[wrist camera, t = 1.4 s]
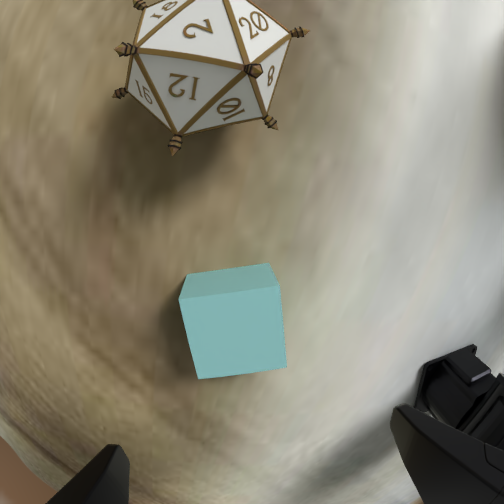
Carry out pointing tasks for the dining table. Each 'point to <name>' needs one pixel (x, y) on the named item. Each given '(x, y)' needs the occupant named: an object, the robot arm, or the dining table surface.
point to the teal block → (234, 321)
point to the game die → (205, 63)
